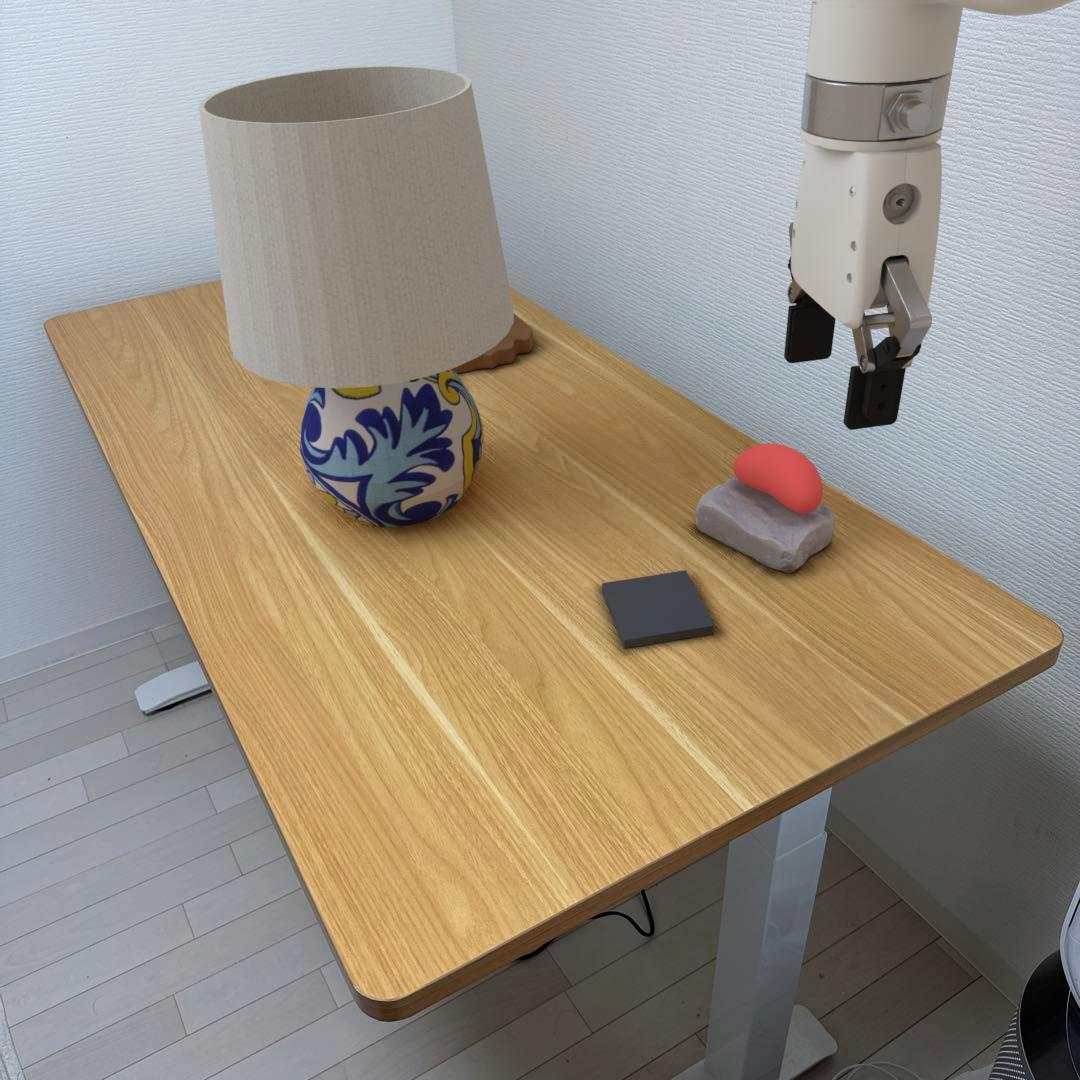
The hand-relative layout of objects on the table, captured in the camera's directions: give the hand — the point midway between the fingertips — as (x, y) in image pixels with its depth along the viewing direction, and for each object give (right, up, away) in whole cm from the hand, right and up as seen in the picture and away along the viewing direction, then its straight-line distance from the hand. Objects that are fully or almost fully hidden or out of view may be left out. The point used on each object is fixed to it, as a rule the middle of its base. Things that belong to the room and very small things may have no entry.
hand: (836, 390), depth 63 cm
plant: (-31, +17, +72) cm, 80 cm away
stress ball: (+3, -6, +30) cm, 31 cm away
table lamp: (-34, -5, +42) cm, 54 cm away
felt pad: (-9, -16, +23) cm, 30 cm away
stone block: (+3, -9, +32) cm, 34 cm away
